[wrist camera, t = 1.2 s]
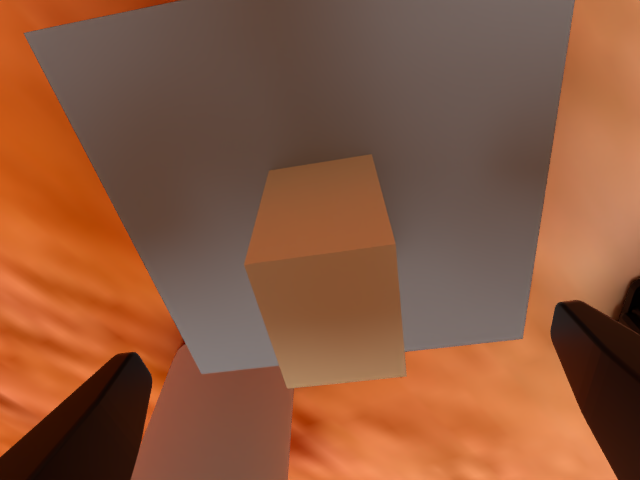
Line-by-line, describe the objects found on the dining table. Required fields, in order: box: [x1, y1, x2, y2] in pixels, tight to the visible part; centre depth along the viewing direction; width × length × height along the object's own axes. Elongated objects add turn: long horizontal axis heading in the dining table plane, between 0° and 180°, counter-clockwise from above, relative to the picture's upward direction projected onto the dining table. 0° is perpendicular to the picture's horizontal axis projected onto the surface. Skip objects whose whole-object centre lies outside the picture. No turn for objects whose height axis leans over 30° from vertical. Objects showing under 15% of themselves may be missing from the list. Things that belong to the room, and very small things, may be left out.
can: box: [131, 344, 294, 480], centre depth 21 cm, size 8×8×12 cm
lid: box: [24, 0, 575, 389], centre depth 11 cm, size 13×13×6 cm
